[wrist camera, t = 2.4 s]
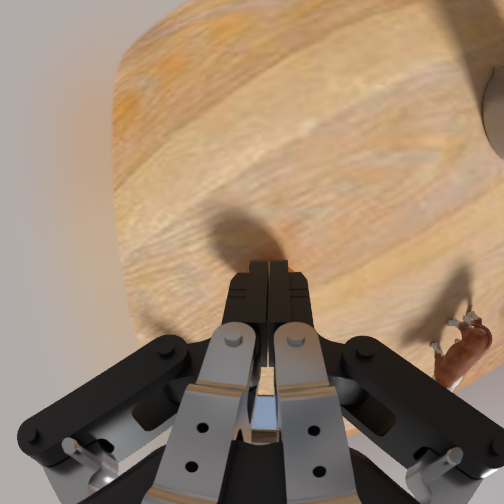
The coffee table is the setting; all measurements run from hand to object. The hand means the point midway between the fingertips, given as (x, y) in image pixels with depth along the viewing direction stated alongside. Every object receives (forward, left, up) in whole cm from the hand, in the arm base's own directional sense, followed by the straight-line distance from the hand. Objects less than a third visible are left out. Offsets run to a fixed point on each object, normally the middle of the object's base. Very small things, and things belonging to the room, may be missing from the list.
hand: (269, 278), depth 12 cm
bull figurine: (+20, +24, -13) cm, 34 cm away
